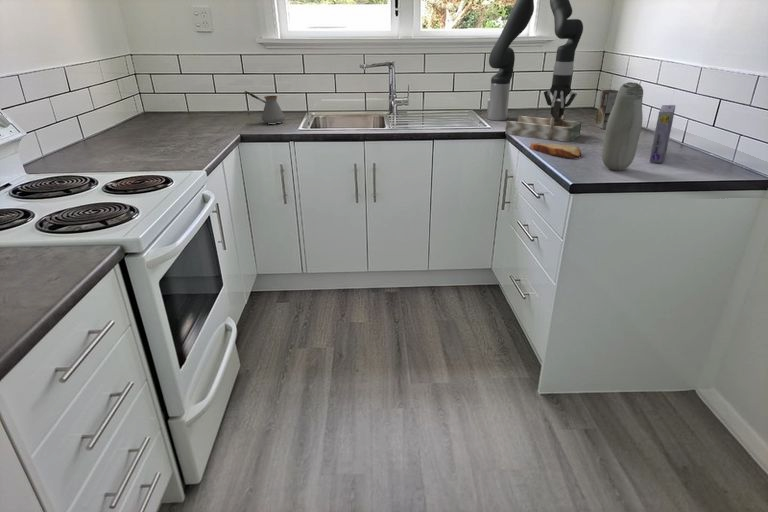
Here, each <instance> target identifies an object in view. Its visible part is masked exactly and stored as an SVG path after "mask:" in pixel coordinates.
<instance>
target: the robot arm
mask: <svg viewBox="0 0 768 512" xmlns="http://www.w3.org/2000/svg"><path fill="white" fill-rule="evenodd" d="M549 5H550V9H551V13H552V14H553V15H552V16H553V18H554V19H553V22H554V34H555V36H556V38H558V39H560V40H567V41H566V43H564V44H562V45H560V46H558V47H557V49H556V54H555V55H556V56H555V61H554V67H553V73H552V81H551V87H550V88H549V89H548V90H545V91H543V95H544V98H545V102H546V104H547V106H550V115H551V117H552V116H553V109H554V102H556V101H560V102H561V108H560V113H559V117H561V118H562V116H563V115H564V112H565V109H566V108H567V107H570V105H571V104H572V103H573V101H574V100H575V98H576V97H577V92H574V91H572V88H571V86H572V79H573V74H574V63H575V54H576V49H577V48H578V46H579V43H580V40H581V37H582V35H583V33H584V24H583V22H582V20H581V19H578V18H570V17H571V16H572V14H573V7H572V5H571V1H570V0H549ZM534 11H535V3H534V0H515V2H514V4H513V7H512V8H511V11H510V13H509V16H508V18H507V21H506V22H505V25H504V27H503V28H502V31H501V33H500V35H499V36H498V38H497V40H496V42H495V44H494V46H493V47H492V49H491V51H490V54H489V58H488V64H489V66H490V67H491V68H492V69H497V70H498V71H497V72H496V73H495V74H494V75H493V76H491V77H490V78H491V79H490V87H489V88H490V91H489V98H488V99H487V108H486V109H487V110H486V120H487V119H488V120H490V121H506V120H507V118H508V109H509V108H508V107H509V99H510V89H511V88H510V87H511V81H512V78H513V75H514V69H515V67H514V66H515V60H516V59H515V52H514V49H513V48H512V47H510V46H511V44H512V43H513V42H514V40H516V38H518V37H519V36H520V35H521V34H522V33H523V31H524V30H526V28H527V26H528V25H529V23H530V21H531V20H532V17H533V14H534ZM551 95H552V98H551ZM568 96H569V98H568V100H567V97H568ZM566 101H567V102H566Z"/></svg>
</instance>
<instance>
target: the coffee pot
mask: <svg viewBox="0 0 768 512" xmlns="http://www.w3.org/2000/svg"><path fill="white" fill-rule="evenodd" d="M245 94H246V95H249V96H250V97H252V98H254V99H256V100H259V101H261V102H262V103H264V108H263V111H262V114H261V121H263V122H264V123H265V122H267V123H277V122H282V123H283V121H285V117H286V116H285V115H284V113H283V110H282V109H281V107H280V105H279V103H278V101H277V98H278V96H277V95H266V96H264V99H265V100H263V98H260V97H258V95H257V96H256V95H255V94H254V93H252V92H251V93H250V92H249V91H246V90H244V92H243V94H242V95H245Z"/></svg>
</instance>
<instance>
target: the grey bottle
mask: <svg viewBox="0 0 768 512" xmlns="http://www.w3.org/2000/svg"><path fill="white" fill-rule="evenodd" d="M617 91H618V93H617V97H616V100H615V104H614V106H613V108H612V111H611V113H610V116H609V118H608V122H607V127H606V129H605V133H604V134H605V135H604V139H603V140H604V141H603V146H602V152H601V160H602V163H603V165H604V166H605V167H606V168H607V169H610V170H611V169H612V171H623V170H626V169H627V168H629V167H630V165H632V163H633V161H634V160H635V157H636V152H637V148H638V144H639V140H640V135H641V132H642V131H641V130H642V127H643V97H644V89H643V87H642V85H641V84H639V83H637V82H631V81H630V82H626V83H623V84H622V85H621V86H620V87H619V89H618V90H617Z"/></svg>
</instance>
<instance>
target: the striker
mask: <svg viewBox="0 0 768 512" xmlns="http://www.w3.org/2000/svg"><path fill="white" fill-rule="evenodd" d="M560 108H561V102H560V100H557V101H556V102H554V109H553V116H552V115H551V118H554V124H553V126H559V127H561V126H562V122H563V119H562V117H559V113H560ZM549 125H550V123H549Z"/></svg>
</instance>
